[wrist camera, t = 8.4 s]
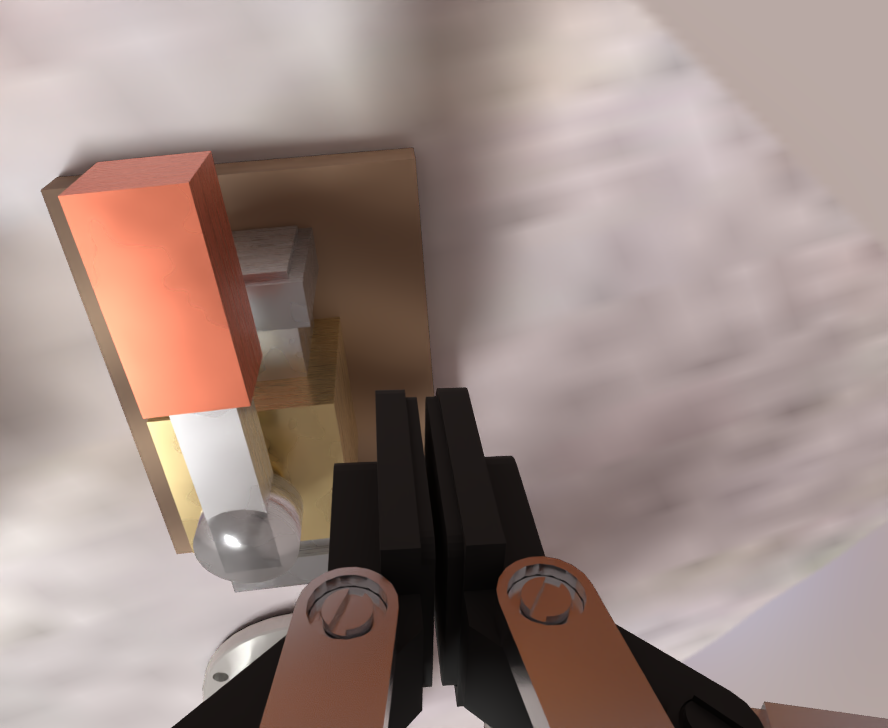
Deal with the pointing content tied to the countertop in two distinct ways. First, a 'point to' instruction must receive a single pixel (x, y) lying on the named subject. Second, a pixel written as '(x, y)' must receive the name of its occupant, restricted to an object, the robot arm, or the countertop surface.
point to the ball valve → (285, 394)
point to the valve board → (338, 282)
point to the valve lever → (189, 345)
